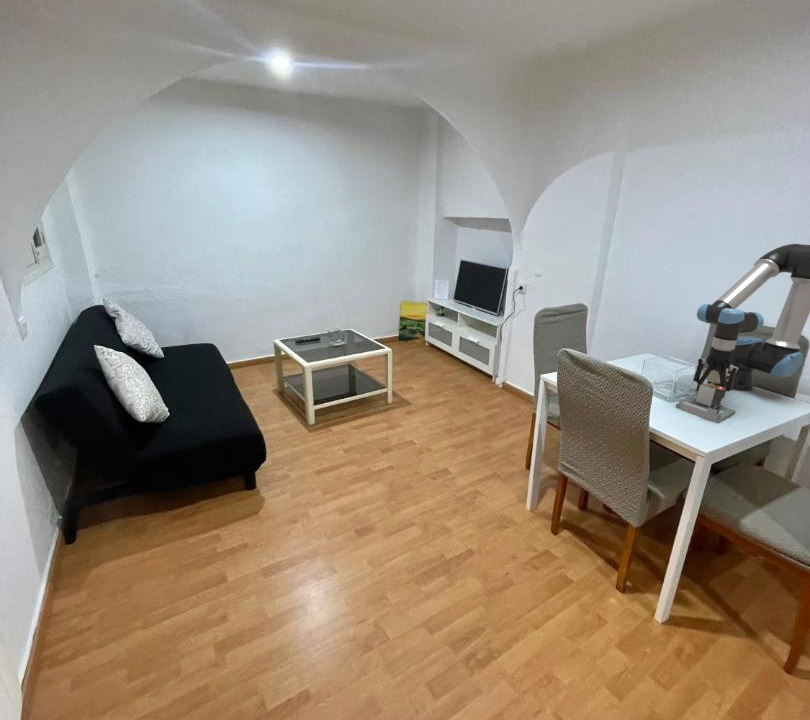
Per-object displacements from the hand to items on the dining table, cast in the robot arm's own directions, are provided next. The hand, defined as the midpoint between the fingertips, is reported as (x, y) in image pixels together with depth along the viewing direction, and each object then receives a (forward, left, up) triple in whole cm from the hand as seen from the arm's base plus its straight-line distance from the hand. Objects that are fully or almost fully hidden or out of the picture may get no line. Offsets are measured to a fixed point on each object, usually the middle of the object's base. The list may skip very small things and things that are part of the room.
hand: (707, 401), depth 177 cm
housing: (0, 0, 0) cm, 0 cm away
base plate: (+3, +1, -3) cm, 4 cm away
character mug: (-17, -5, -3) cm, 18 cm away
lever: (+10, +6, 0) cm, 11 cm away
